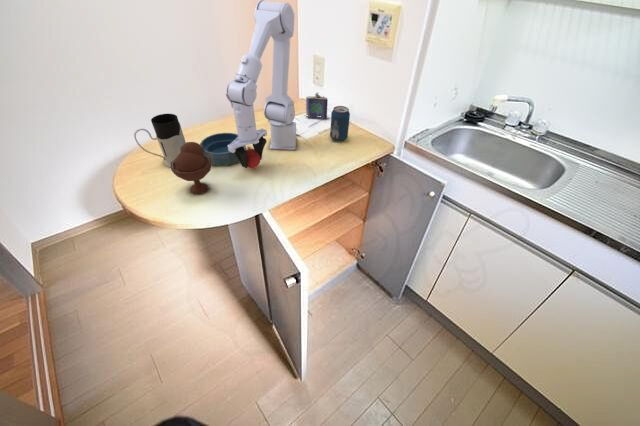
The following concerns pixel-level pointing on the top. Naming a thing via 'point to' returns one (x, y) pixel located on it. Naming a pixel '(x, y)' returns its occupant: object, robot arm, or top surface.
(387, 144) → the top surface
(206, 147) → the bowl
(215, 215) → the top surface
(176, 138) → the glass holder
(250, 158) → the pomegranate
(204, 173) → the ice cream bowl
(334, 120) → the soda can
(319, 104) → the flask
